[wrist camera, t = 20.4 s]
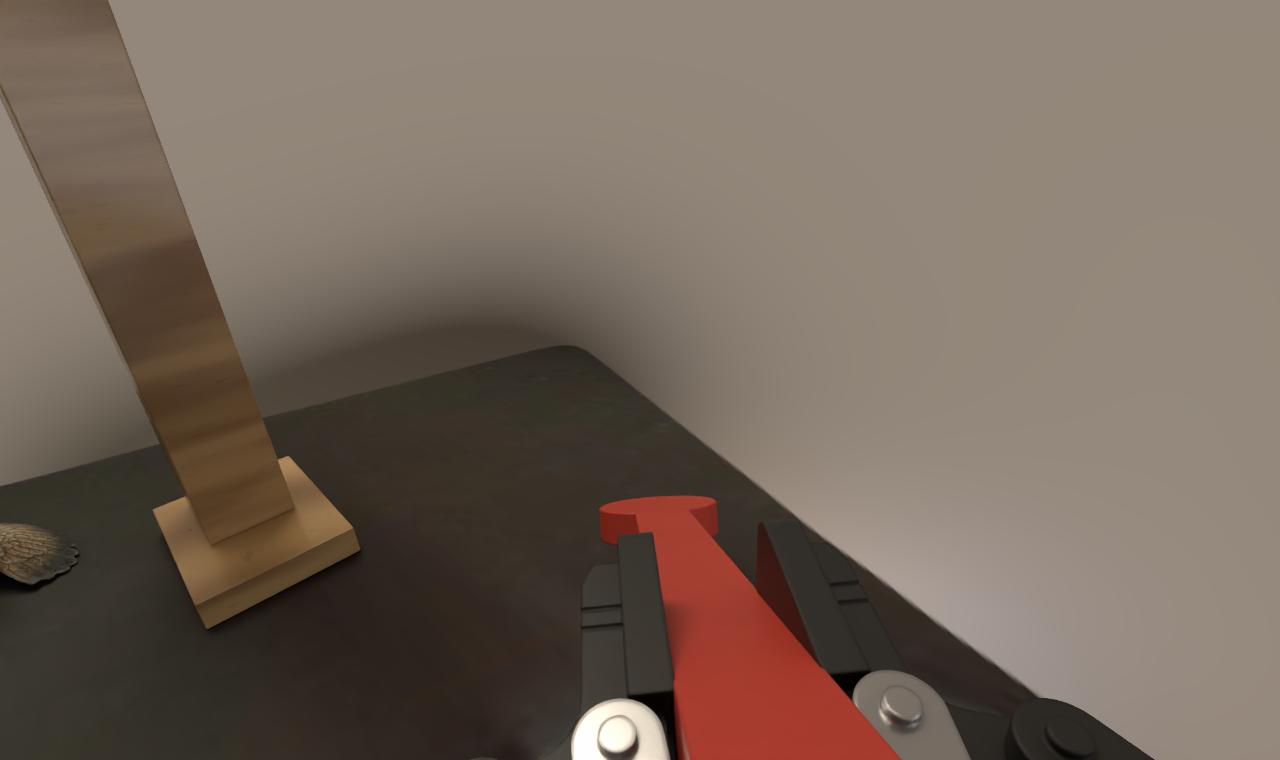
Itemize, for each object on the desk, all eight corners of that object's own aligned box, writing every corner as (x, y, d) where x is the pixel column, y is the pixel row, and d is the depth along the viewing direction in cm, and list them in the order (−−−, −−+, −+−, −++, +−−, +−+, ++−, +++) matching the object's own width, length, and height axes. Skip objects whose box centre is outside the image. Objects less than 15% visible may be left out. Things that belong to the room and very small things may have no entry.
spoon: (1136, 963, 6) (1116, 798, 6) (544, 1030, 5) (535, 856, 5) (709, 521, 30) (706, 492, 31) (602, 529, 30) (600, 500, 30)
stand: (360, 550, 32) (84, -307, 18) (206, 630, 28) (-316, -411, 14) (295, 475, 39) (55, -195, 25) (162, 531, 34) (-222, -243, 20)
